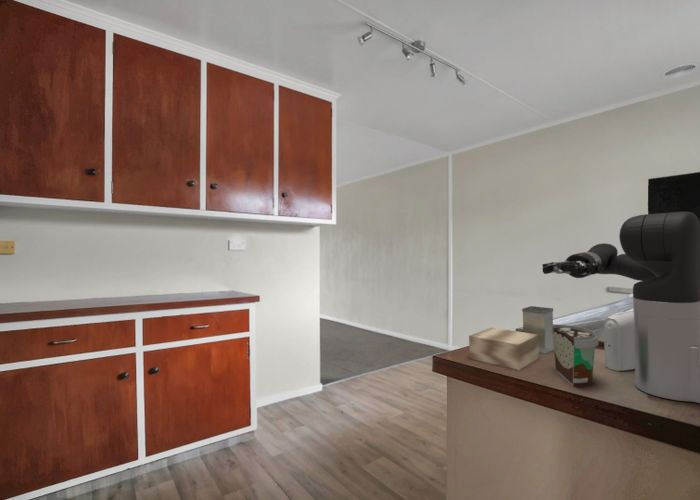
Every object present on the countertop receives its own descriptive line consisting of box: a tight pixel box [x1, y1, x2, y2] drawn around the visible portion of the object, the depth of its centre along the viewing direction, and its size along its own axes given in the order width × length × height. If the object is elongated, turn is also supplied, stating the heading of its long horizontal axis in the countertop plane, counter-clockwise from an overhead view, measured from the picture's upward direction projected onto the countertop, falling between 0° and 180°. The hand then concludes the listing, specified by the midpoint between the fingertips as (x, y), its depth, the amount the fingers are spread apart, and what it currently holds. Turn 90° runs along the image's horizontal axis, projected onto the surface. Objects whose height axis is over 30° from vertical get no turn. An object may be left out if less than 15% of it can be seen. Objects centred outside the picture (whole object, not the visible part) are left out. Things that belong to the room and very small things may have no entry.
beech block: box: [468, 327, 540, 371], centre depth 86 cm, size 12×12×6 cm
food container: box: [552, 323, 600, 388], centre depth 72 cm, size 12×6×10 cm, turn 168°
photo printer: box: [603, 311, 635, 372], centre depth 78 cm, size 10×4×12 cm, turn 105°
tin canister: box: [521, 305, 554, 355], centre depth 92 cm, size 6×6×11 cm
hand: (559, 270), depth 100 cm, fingers open, 8 cm apart
